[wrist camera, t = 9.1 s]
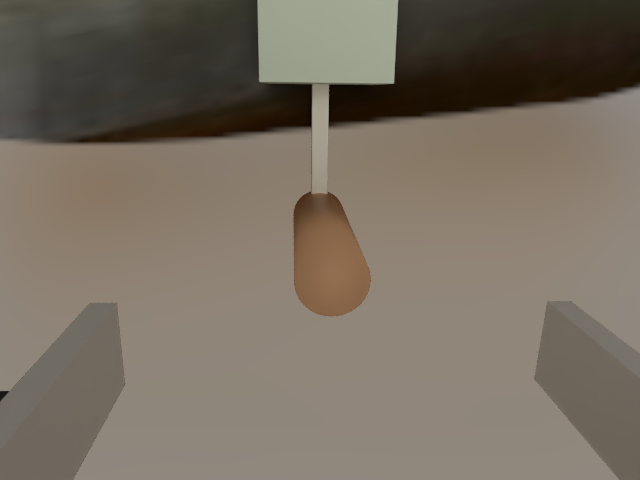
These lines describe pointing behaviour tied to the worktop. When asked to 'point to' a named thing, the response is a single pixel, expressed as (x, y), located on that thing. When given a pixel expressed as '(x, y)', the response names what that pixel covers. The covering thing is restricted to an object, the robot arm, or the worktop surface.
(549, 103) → the worktop surface
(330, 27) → the block with rod
